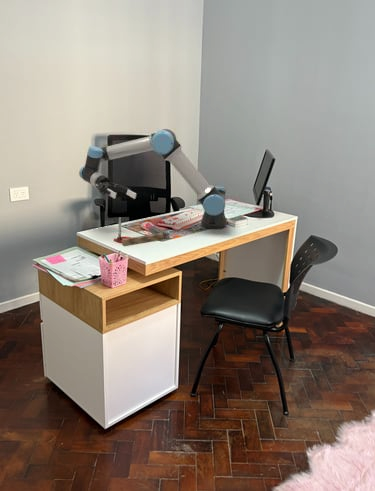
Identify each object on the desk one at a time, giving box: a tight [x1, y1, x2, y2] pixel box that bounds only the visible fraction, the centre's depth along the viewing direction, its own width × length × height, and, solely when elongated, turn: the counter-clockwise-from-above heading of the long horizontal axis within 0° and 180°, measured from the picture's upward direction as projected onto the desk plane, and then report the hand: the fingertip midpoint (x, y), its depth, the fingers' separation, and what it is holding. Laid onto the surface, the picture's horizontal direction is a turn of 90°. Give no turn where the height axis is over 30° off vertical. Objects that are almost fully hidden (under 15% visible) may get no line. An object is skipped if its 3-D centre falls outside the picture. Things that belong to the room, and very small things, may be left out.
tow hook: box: [113, 217, 132, 244], centre depth 223 cm, size 8×13×9 cm
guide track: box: [121, 225, 170, 247], centre depth 229 cm, size 26×16×3 cm, turn 123°
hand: (125, 196), depth 223 cm, fingers open, 13 cm apart
